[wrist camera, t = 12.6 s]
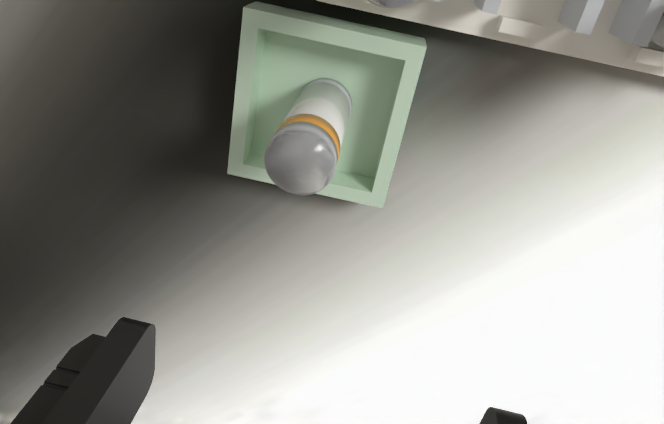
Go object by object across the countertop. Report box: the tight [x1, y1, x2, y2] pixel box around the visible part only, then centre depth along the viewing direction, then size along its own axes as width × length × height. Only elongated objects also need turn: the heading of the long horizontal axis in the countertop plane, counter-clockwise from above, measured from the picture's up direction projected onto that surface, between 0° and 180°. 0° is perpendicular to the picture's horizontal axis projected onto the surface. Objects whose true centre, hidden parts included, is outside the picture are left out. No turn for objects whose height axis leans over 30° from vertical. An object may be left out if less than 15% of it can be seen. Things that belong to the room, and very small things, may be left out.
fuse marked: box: [264, 78, 352, 195], centre depth 31 cm, size 4×4×10 cm
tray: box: [227, 1, 427, 209], centre depth 34 cm, size 11×11×3 cm
